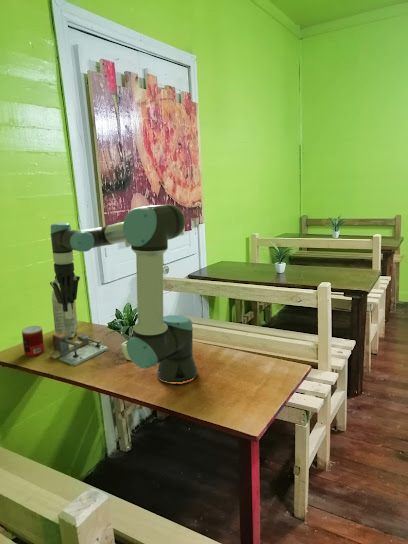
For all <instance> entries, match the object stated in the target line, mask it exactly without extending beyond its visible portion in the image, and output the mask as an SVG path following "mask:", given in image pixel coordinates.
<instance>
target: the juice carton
mask: <svg viewBox="0 0 408 544" xmlns="http://www.w3.org/2000/svg"><path fill="white" fill-rule="evenodd" d="M51 293H52V294H51V303H52V313H53V314H52V315H53V325H54V331H55V334H56V333H59V332H63V333H66V334H68V339H69V338H74V337H75V335H76V334H77V331H78V315H77V302H76V300H74V303H72V304H73V310H72V319H67V318H65V312H64V311H63V305H62V304H60V303H58V302H57V299H56V296H55V293H54V290H52V292H51Z"/></svg>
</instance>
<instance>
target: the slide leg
mask: <svg viewBox="0 0 408 544" xmlns="http://www.w3.org/2000/svg"><path fill="white" fill-rule="evenodd" d="M52 341H53V342H52V343H53V351H54V350H58V351H60V353H61V356H60V357H62V356H64V355H67V354H69V353H71V352H70V351H69V344H71V345H74V350H73V351H75V356H76V355H77V350H78V349H76V346H78V345H79V343H76V342H75V341H73V340H69V338H68V334H66V333H63V332H59V333H56V332H55V333H53V334H52Z"/></svg>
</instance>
